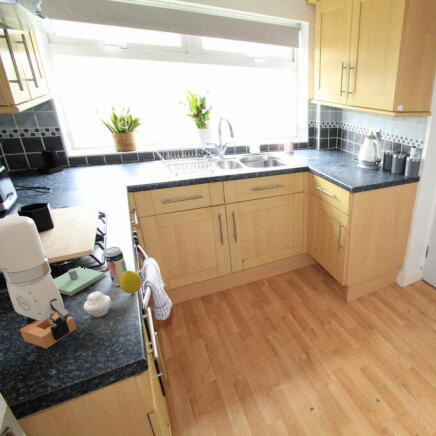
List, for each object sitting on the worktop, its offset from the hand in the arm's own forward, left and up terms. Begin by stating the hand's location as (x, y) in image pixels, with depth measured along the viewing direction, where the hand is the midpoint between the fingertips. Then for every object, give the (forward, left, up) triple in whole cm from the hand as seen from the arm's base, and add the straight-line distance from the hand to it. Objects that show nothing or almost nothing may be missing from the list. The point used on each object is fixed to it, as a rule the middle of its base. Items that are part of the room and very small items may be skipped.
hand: (50, 331), depth 78 cm
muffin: (+11, -2, -3) cm, 12 cm away
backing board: (+20, +18, -3) cm, 27 cm away
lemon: (+21, -3, -3) cm, 21 cm away
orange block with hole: (0, 0, -1) cm, 1 cm away
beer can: (+24, +5, -3) cm, 25 cm away
